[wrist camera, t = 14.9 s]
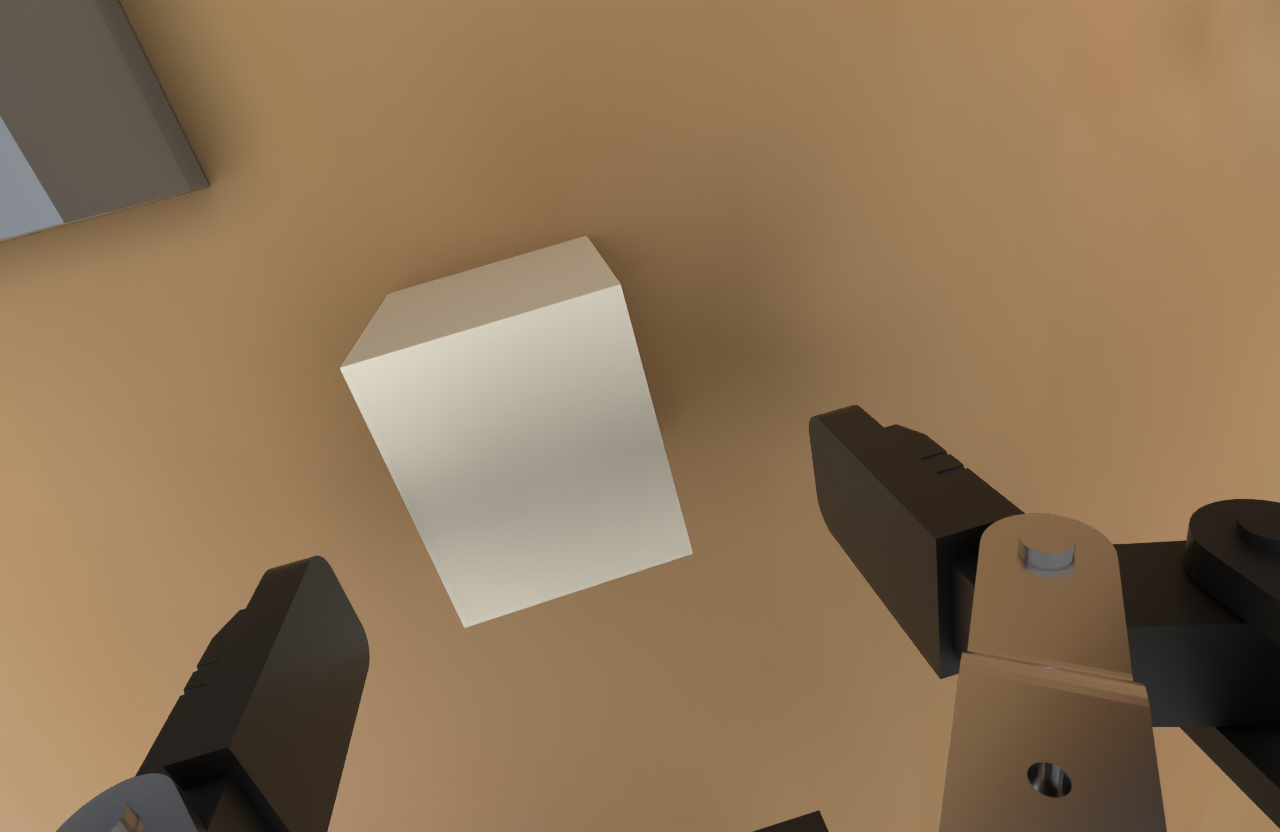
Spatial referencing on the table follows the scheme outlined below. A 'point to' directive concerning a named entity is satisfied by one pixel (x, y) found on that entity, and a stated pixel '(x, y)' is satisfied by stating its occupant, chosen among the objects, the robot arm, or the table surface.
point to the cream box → (520, 429)
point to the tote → (81, 118)
